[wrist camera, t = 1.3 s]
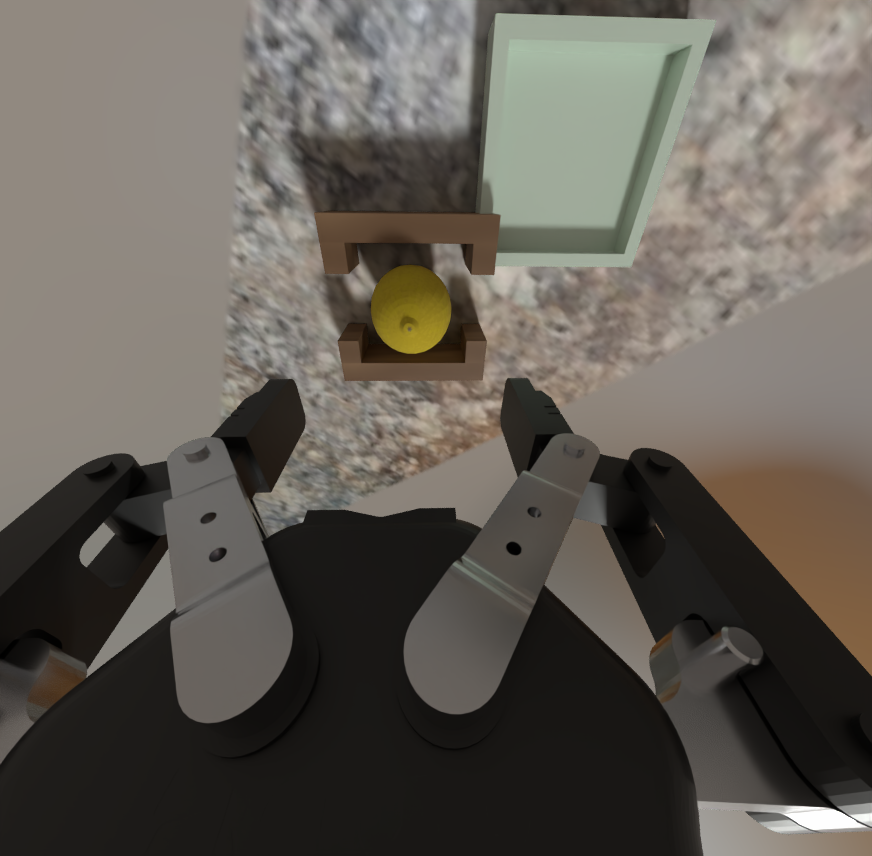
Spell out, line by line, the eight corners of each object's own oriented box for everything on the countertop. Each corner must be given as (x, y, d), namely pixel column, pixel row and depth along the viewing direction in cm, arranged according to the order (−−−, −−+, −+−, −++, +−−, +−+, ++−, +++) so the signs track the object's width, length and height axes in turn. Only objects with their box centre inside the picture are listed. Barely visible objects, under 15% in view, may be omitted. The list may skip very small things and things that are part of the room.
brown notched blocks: (330, 210, 21) (314, 212, 18) (489, 212, 22) (500, 214, 18) (354, 359, 28) (344, 380, 25) (475, 359, 28) (482, 380, 25)
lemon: (427, 341, 27) (427, 385, 21) (367, 308, 25) (347, 346, 19) (461, 281, 24) (473, 310, 18) (397, 240, 23) (385, 257, 16)
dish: (488, 33, 17) (495, 13, 15) (685, 39, 17) (716, 19, 15) (471, 260, 23) (475, 265, 22) (615, 261, 24) (631, 267, 22)
